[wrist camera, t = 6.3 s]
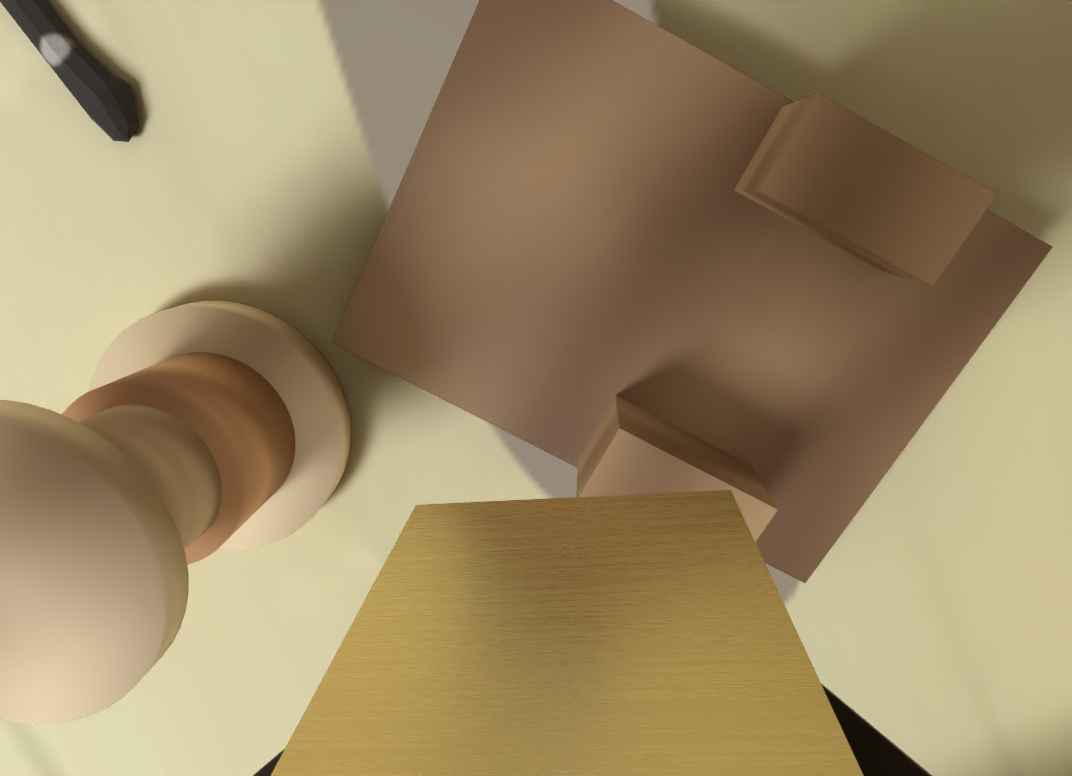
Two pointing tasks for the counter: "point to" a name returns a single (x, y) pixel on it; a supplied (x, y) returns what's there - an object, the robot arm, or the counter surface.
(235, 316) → the bobbin
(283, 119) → the counter surface
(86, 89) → the chef's knife
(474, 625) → the tan block
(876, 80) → the counter surface
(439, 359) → the notch board
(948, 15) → the counter surface
